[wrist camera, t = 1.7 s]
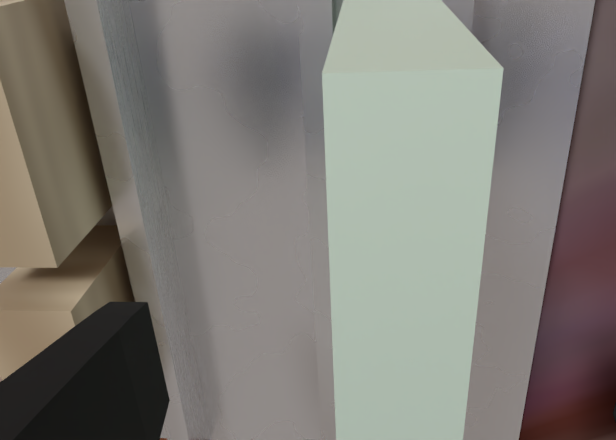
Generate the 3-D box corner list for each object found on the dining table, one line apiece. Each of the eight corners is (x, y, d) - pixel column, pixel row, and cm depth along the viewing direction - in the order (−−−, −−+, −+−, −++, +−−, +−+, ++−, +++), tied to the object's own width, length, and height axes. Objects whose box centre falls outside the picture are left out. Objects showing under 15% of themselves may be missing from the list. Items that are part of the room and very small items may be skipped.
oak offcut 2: (135, 225, 14) (70, 311, 11) (166, 364, 16) (118, 469, 13) (59, 225, 14) (-26, 309, 11) (98, 362, 16) (36, 465, 13)
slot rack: (613, -230, 10) (684, -274, 8) (508, 425, 17) (529, 498, 15) (-165, -168, 11) (-291, -188, 9) (45, 408, 19) (3, 473, 17)
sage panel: (414, -30, 11) (503, 66, 4) (400, 370, 15) (429, 750, 8) (351, -27, 11) (322, 74, 4) (356, 368, 16) (347, 741, 9)
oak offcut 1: (83, -14, 11) (-21, 10, 8) (127, 188, 14) (57, 267, 10) (-9, -10, 12) (-144, 16, 9) (48, 189, 14) (-44, 267, 11)
